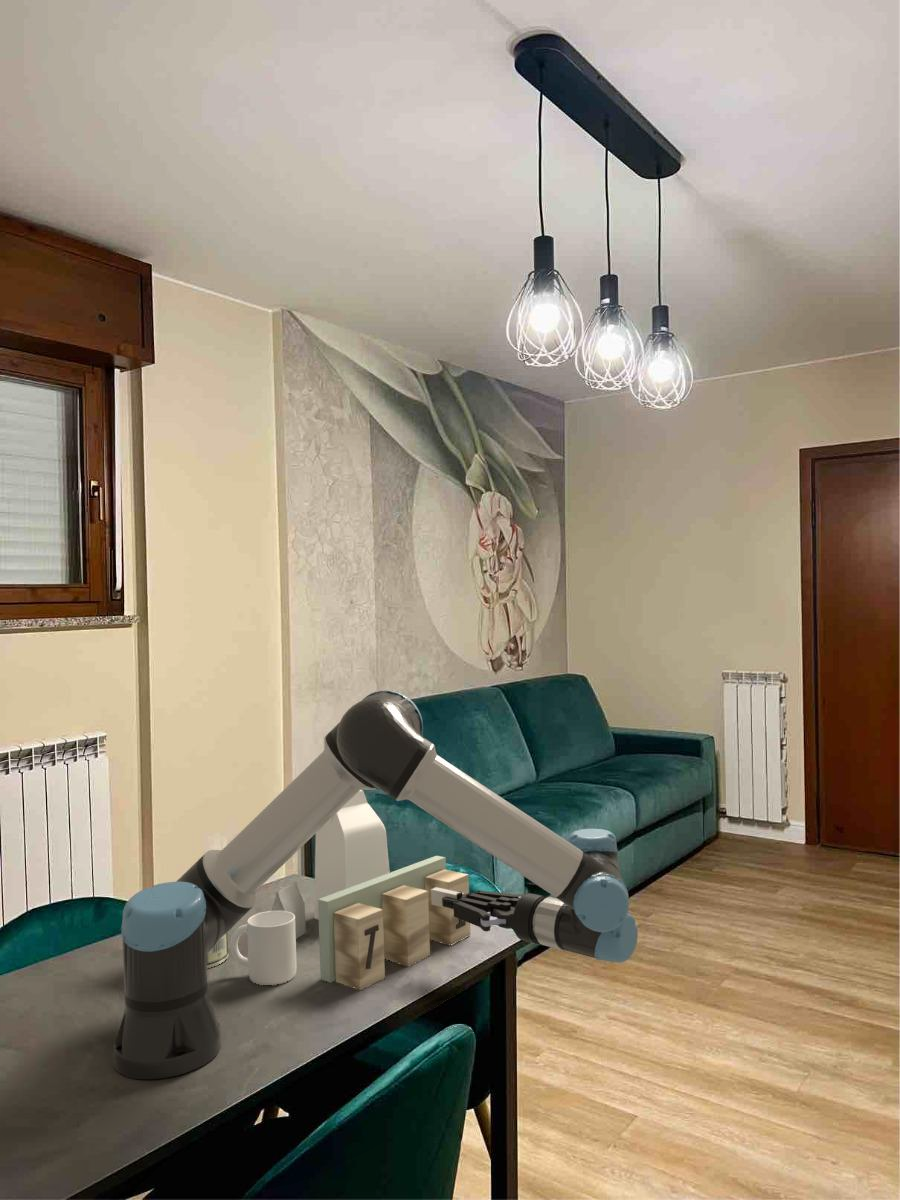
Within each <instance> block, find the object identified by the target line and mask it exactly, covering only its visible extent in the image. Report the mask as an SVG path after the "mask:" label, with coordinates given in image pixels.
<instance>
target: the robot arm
mask: <svg viewBox="0 0 900 1200" xmlns="http://www.w3.org/2000/svg"><path fill="white" fill-rule="evenodd" d="M323 740H324V741H323V745H324V746H323V751H322V752H321V753H320V754H319V755H318V756H317V757H316V758H315V759H314V760H312V762H310V764H309V765H308V766H307V767H306V768H304V770H303V771H301V773H300V774H299V775H297V776H296V778H294V779H293V780H292V781H291V782H290V783H289V784H288V785H287V786H286V787H285V788H284V789H283V790H282V791H281V792H280V793H279V794H278V795H277V796H276V797H275V798H274V799H273V800H272V801H271V802H270V803H269V804H268V805H267V806H266V807H265V808H263V810H262V811H261V812H259V813H258V814H257V815H256V817H254V818H253V819H252V820H251V821H250V822H249V823H248V824H247V825H246V826H245V827H244V828H243V829H242V830H241V831H240V832H239V833H238V834H237V835H235V837H234V838H233V839H232V840H231V841H229V843H227V845H226V846H225V847H224V848H222V849H210V850H207V851H206V852H205V853H204V854H203V855H202V856H201V857H200V858H199V859H198V860H197V861H196V862H195V863H194V864H193V865H192V866H191V867H190V868H189V869H188V870H186V872H185V873H183V875H181V876H180V878H178V879H176V881H169V882H168V881H167V882H161V883H158V884H154V885H152V886H151V888H150V887H149V888H143V889H142V890H140V891H138V892H136V893H134V894H133V895H132V896H131V897H130V898H129V899H128V901H126V903H125V904H124V908H123V911H122V921H121V926H120V931H121V939H122V958H123V961H122V962H123V985H124V991H123V992H124V1010H123V1013H122V1016H121V1020H120V1023H119V1027H118V1029H117V1033H116V1036H115V1039H114V1043H113V1050H112V1051H113V1055H112V1056H113V1066H114V1069H115V1070H116V1071H117V1072H118V1073H119V1074H121V1075H123V1076H125V1077H128V1078H132V1079H139V1080H158V1079H159V1080H160V1079H166V1078H173V1077H177V1076H180V1075H183V1074H186V1073H190V1072H192V1071H194V1070H195V1071H196V1070H197V1069H199V1068H201V1067H203V1066H205V1065H207V1064H208V1063H210V1061H212V1060H213V1059H214V1058H215V1057H216V1056H217V1055H218V1054H219V1052H220V1050H221V1049H222V1031H221V1027H220V1026H221V1025H220V1023H219V1022H218V1019H217V1016H216V1013H215V1011H214V1007H213V1005H212V1002H211V999H210V997H209V996H210V995H209V993H208V992H209V991H208V969H207V954H208V952H209V951H210V950H211V949H212V948H213V947H214V945H215V944H216V943H217V942H218V941H219V940H220V939H221V938H222V937H223V936H224V935H225V934H226V933H227V934H228V932H229V931H231V930H232V928H234V926H235V925H236V924H238V922H239V921H241V920H242V918H244V917H245V916H246V914H248V912H249V911H250V910H252V909H253V908H254V907H255V906H256V904H257V903H258V900H259V889H260V888H261V887H262V886H263V885H264V884H265V883H266V882H267V881H268V880H269V879H270V878H271V877H272V876H273V875H274V874H276V872H277V871H278V870H279V869H281V868H282V867H283V866H284V864H286V863H287V862H288V861H289V860H290V859H291V858H292V857H293V856H294V855H295V854H296V853H297V852H298V851H299V850H300V849H301V848H302V847H303V846H304V845H306V843H307V842H308V841H309V840H310V839H311V838H313V836H314V835H316V832H318V831H319V830H320V829H321V828H322V827H323V826H324V825H325V824H326V823H327V822H328V821H329V820H330V819H331V818H332V817H333V816H334V815H335V814H336V813H337V812H338V811H339V810H340V809H341V808H342V807H343V806H344V805H345V804H346V803H347V802H349V801H350V800H351V799H352V798H353V797H354V796H355V795H356V794H357V793H358V792H359V791H360V790H362V791H363V790H366V791H368V790H369V791H370V790H371V791H372V790H376V789H378V790H380V791H381V792H384V793H385V794H386V795H388V796H389V797H391V799H394V800H395V801H397V802H399V801H400V802H401V801H404V800H405V801H406V800H407V801H410V802H411V803H413V804H415V805H416V806H417V807H419V808H420V809H422V810H424V811H425V812H426V813H428V814H429V815H430V816H433V817H434V818H435V819H436V820H439V821H440V822H441V823H443V824H444V825H446V826H447V827H449V828H451V829H452V830H454V831H455V832H456V833H458V834H460V835H461V836H463V837H464V838H465V839H467V840H469V841H470V842H472V843H473V844H475V845H476V846H478V847H479V848H481V849H482V850H483V851H485V852H487V853H488V854H490V855H491V856H492V857H494V858H496V859H497V860H499V861H500V862H502V863H503V864H504V865H506V866H508V867H509V868H511V869H512V870H514V871H516V872H517V873H518V874H520V875H521V876H523V877H524V878H526V879H527V880H529V881H530V882H532V883H533V884H534V885H537V886H538V887H539V888H541V889H542V890H543V891H546V892H547V893H548V894H550V895H551V896H546V895H540V894H536V893H530V892H529V893H522V894H519V893H518V894H516V893H507V892H499V891H498V892H496V891H488V890H479V889H478V890H475V893H473V892H469V893H467V894H465V893H461V892H456V891H451V890H447V889H442V888H438V887H436V888H433V889H431V904H432V905H436V906H440V907H444V908H448V909H453V910H454V917H456V918H459V919H461V920H464V921H466V922H469V923H470V925H473V926H476V927H478V928H480V929H481V930H482V931H483V932H489V931H491V927H492V926H498V927H500V928H503V929H507V930H509V929H512V931H513V932H514V934H515V936H516V937H517V938H518V939H519V940H520V941H523V942H526V943H532V944H536V945H541V946H546V947H549V948H553V949H556V950H557V952H563V951H565V952H570V953H575V954H577V955H581V956H585V957H587V958H588V957H589V958H593V959H595V960H597V961H604V962H609V963H618V964H620V963H621V964H622V963H625V962H627V960H630V958H631V957H632V956H633V954H634V953H635V950H636V947H637V943H638V936H639V933H638V932H639V931H638V924H636V920H635V919H636V918H635V917H634V916H633V915H632V914H630V913H629V910H630V900H629V891H628V889H627V886H626V885H625V881H624V880H623V876H622V873H621V871H620V868H619V861H618V853H619V850H618V847H617V837H616V835H615V834H614V833H613V832H612V831H609V830H607V829H602V828H583V829H582V828H581V829H578V830H574V831H573V832H571V833H570V835H568V841H567V840H566V839H565V838H564V837H562V836H561V835H559V834H557V833H556V832H554V831H552V829H550V828H548V827H547V826H545V825H543V824H542V823H541V822H539V821H538V820H536V819H534V818H533V817H532V816H530V815H528V814H527V813H525V812H524V811H522V810H521V809H519V808H518V807H516V806H515V805H514V804H512V803H510V802H509V801H507V800H505V799H504V798H503V797H502V796H500V795H499V794H497V793H496V792H493V791H492V790H491V789H489V788H488V787H486V786H485V785H483V784H482V783H480V782H479V781H477V780H476V779H474V778H473V777H471V776H470V775H468V774H467V773H465V772H463V771H462V770H461V769H459V768H458V767H456V766H455V765H453V764H452V763H450V762H448V761H447V760H445V758H442V757H441V756H440V755H438V754H437V751H436V746H435V744H434V743H433V742H431V741H429V739H427V738H425V737H424V723H423V718H422V714H421V711H420V710H419V708H418V706H417V705H416V704H415V702H413V700H411V699H410V698H409V697H408V696H406V695H404V694H403V693H401V692H397V691H393V690H378V691H375V692H371V693H369V694H368V695H366V696H365V697H364V698H362V700H361V701H358V702H357V703H355V704H353V705H352V706H351V707H350V708H348V710H347V711H345V713H344V714H343V715H342V717H341V720H340V721H339V723H337V724H336V725H335V726H333V728H332V729H331V730H330V731H329V732H328V733H326V735H325V736H324V738H323Z"/></svg>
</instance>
